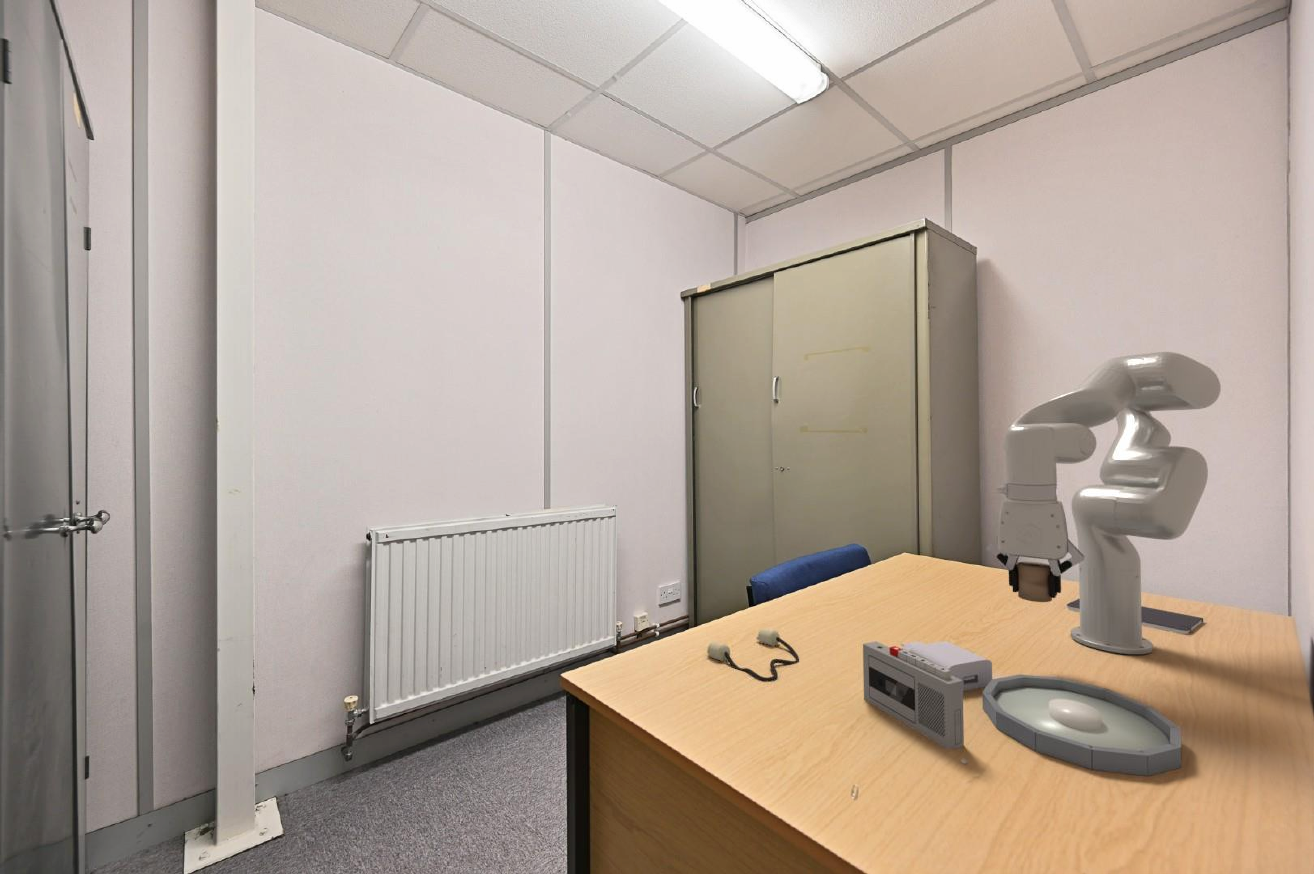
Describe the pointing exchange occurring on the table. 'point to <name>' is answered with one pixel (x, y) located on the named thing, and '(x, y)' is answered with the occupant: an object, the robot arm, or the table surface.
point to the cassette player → (915, 692)
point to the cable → (764, 636)
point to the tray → (1083, 724)
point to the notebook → (1159, 619)
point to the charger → (955, 662)
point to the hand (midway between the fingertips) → (1034, 592)
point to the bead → (1034, 581)
